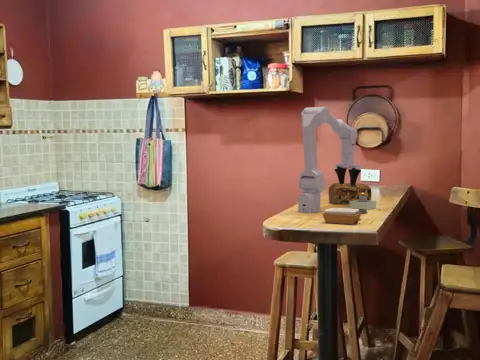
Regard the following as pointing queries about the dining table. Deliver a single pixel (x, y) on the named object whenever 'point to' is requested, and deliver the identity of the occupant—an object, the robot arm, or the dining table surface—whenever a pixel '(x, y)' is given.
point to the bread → (347, 192)
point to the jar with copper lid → (363, 197)
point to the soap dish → (341, 215)
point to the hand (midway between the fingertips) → (347, 184)
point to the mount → (361, 210)
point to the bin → (363, 204)
